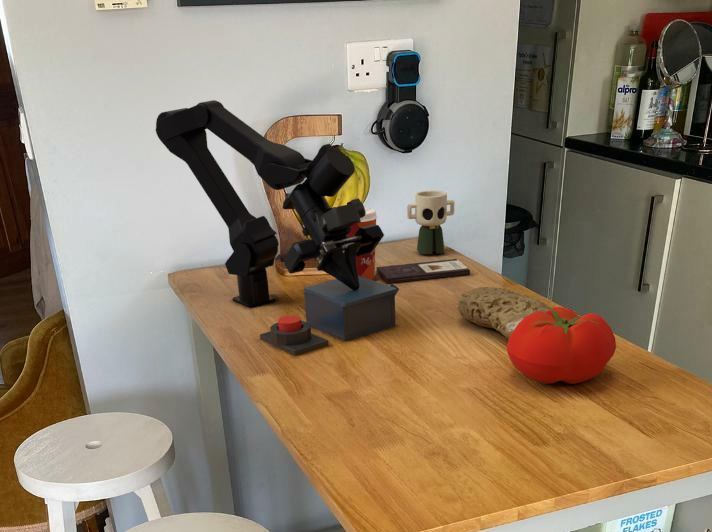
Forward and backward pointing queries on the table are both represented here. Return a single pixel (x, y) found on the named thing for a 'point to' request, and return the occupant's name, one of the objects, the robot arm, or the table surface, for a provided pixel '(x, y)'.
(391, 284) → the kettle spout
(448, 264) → the chocolate bar
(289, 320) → the red button
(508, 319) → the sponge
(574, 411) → the table surface
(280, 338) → the push button switch
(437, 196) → the character mug
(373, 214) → the paper cup
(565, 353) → the tomato
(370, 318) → the storage box
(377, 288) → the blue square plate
